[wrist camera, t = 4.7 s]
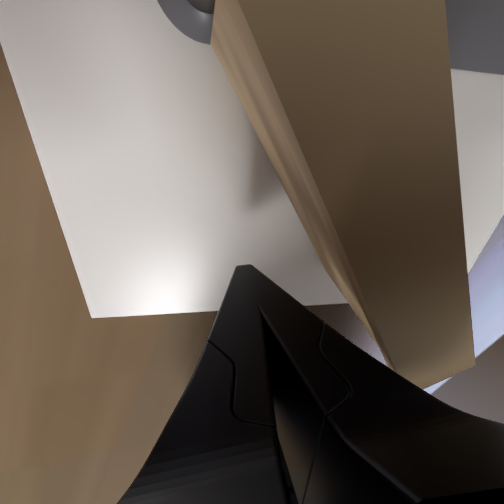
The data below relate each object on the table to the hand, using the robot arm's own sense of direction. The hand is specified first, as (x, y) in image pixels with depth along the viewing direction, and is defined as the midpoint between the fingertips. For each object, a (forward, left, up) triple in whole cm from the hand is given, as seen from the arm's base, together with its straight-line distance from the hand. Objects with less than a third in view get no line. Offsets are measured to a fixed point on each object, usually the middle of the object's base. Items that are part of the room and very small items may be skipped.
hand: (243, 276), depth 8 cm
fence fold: (+3, -2, -2) cm, 4 cm away
